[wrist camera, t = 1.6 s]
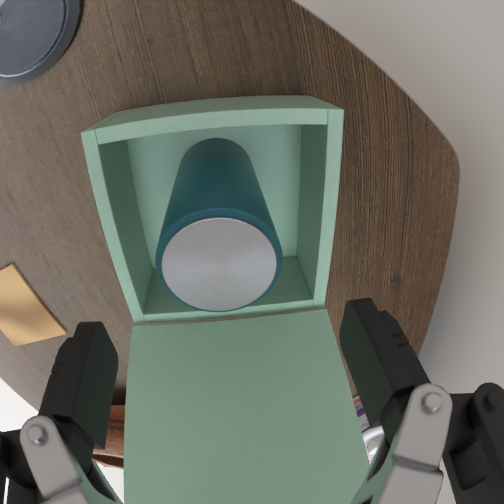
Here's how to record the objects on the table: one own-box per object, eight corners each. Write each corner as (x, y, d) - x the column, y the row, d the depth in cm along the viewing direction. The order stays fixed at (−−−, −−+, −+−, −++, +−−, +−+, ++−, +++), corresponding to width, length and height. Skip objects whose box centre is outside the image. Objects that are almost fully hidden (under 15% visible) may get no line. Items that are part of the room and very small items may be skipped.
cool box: (114, 112, 19) (80, 132, 14) (310, 95, 20) (344, 109, 15) (146, 271, 27) (134, 324, 22) (303, 257, 28) (323, 307, 23)
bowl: (95, 424, 43) (88, 475, 35) (74, 374, 35) (59, 440, 26) (185, 435, 46) (186, 488, 38) (190, 390, 38) (191, 460, 30)
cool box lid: (126, 536, 11) (151, 532, 14) (380, 511, 12) (356, 512, 15) (132, 325, 21) (149, 357, 24) (326, 308, 22) (316, 342, 25)
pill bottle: (376, 401, 47) (393, 449, 39) (346, 410, 47) (362, 459, 39) (381, 385, 44) (402, 437, 36) (349, 395, 44) (367, 449, 36)
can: (167, 153, 21) (131, 237, 11) (240, 127, 20) (264, 191, 11) (194, 215, 24) (186, 327, 14) (261, 193, 23) (296, 296, 14)
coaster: (-32, 286, 25) (-33, 288, 25) (13, 262, 25) (11, 264, 24) (17, 344, 31) (16, 346, 31) (67, 331, 30) (66, 334, 30)
